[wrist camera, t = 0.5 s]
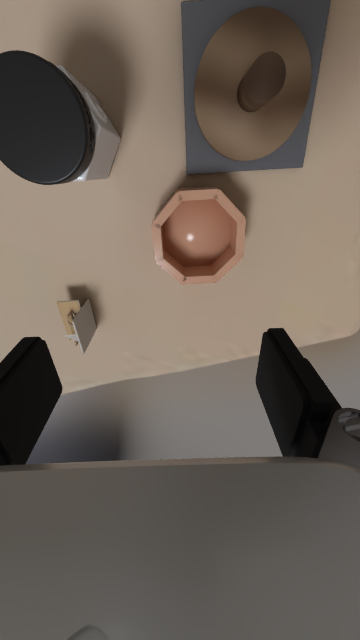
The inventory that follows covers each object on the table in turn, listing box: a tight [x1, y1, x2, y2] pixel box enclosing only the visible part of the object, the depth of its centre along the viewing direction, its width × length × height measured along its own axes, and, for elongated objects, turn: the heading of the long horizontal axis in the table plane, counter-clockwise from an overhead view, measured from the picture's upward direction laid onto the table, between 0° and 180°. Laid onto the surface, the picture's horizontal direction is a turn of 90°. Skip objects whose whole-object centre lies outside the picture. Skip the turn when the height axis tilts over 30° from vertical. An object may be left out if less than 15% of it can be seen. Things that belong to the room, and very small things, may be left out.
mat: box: [181, 0, 331, 174], centre depth 27 cm, size 14×14×1 cm
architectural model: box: [57, 299, 97, 354], centre depth 38 cm, size 3×7×7 cm, turn 3°
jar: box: [0, 50, 120, 185], centre depth 24 cm, size 9×8×12 cm
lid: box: [194, 7, 311, 161], centre depth 25 cm, size 12×12×6 cm
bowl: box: [152, 186, 246, 284], centre depth 33 cm, size 11×11×5 cm
